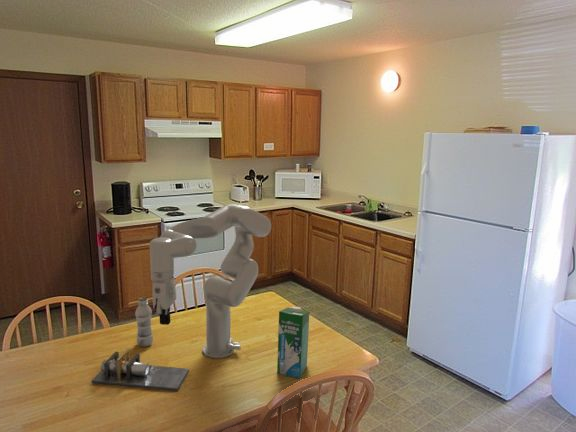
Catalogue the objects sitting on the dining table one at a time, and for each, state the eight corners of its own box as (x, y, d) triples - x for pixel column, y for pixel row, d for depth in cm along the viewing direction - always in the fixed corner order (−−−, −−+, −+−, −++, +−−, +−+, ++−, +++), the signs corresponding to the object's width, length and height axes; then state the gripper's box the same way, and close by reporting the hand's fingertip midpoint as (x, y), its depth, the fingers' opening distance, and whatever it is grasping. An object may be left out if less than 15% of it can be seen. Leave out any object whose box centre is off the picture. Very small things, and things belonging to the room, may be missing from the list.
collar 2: (140, 367, 155) (139, 353, 154) (130, 380, 147) (129, 365, 146) (136, 367, 155) (136, 353, 154) (126, 380, 147) (126, 365, 146)
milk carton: (307, 365, 162) (309, 305, 157) (300, 378, 154) (302, 315, 148) (285, 361, 165) (287, 301, 159) (277, 373, 156) (278, 311, 151)
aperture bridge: (130, 367, 155) (129, 348, 154) (120, 379, 148) (119, 359, 146) (128, 366, 155) (127, 348, 154) (117, 379, 148) (116, 359, 146)
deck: (189, 371, 156) (188, 368, 155) (177, 391, 144) (177, 388, 144) (109, 364, 158) (109, 361, 158) (91, 383, 147) (91, 380, 146)
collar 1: (119, 365, 156) (118, 351, 154) (108, 378, 148) (107, 363, 147) (116, 365, 156) (115, 351, 155) (105, 378, 148) (104, 363, 147)
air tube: (149, 371, 153) (148, 360, 152) (144, 378, 149) (143, 367, 148) (107, 367, 154) (106, 356, 153) (101, 374, 150) (100, 363, 149)
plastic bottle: (155, 341, 176) (154, 296, 172) (149, 349, 170) (147, 303, 165) (141, 340, 177) (139, 295, 173) (133, 348, 170) (131, 302, 166)
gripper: (165, 283, 134) (167, 334, 139) (181, 267, 149) (182, 314, 153) (142, 281, 135) (145, 333, 139) (160, 266, 150) (163, 313, 154)
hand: (165, 323), depth 146 cm, fingers closed
